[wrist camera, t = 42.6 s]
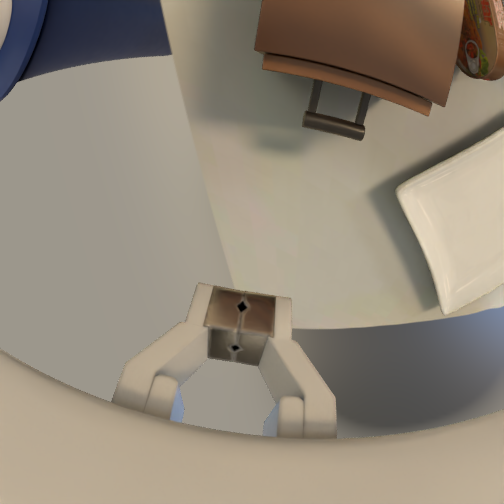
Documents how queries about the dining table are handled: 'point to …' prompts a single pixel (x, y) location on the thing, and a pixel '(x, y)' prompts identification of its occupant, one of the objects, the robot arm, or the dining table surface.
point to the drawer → (347, 80)
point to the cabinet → (370, 39)
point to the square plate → (460, 221)
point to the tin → (482, 40)
